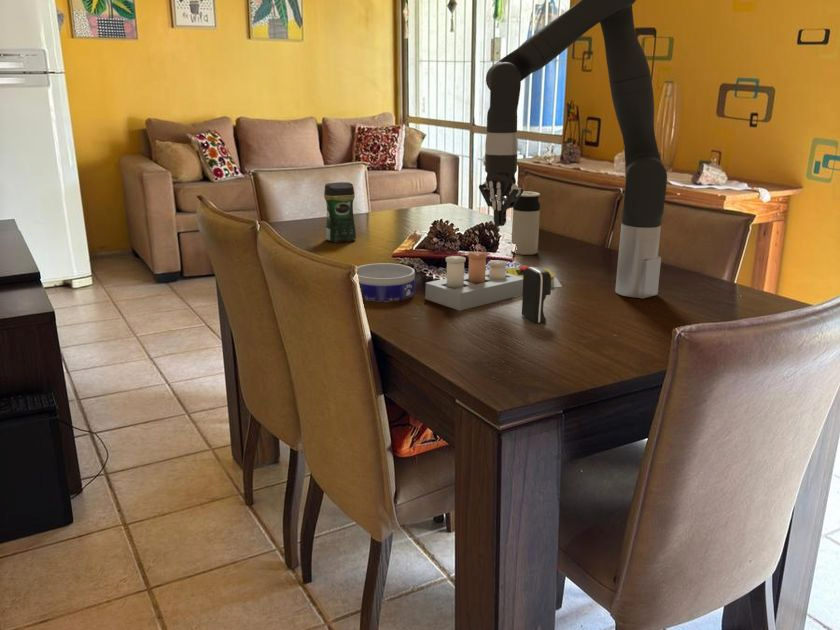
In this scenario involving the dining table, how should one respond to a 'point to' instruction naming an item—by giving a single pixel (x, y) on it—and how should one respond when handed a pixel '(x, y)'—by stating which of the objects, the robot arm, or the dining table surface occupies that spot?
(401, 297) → the dog bowl
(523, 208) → the travel mug
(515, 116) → the robot arm
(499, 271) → the ivory plug
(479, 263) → the terracotta plug
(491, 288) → the board
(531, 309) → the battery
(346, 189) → the coffee jar
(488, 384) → the dining table surface
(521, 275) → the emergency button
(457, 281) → the ivory plug
